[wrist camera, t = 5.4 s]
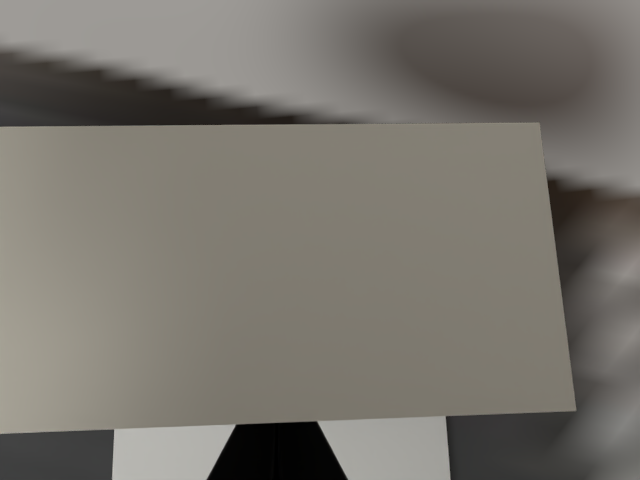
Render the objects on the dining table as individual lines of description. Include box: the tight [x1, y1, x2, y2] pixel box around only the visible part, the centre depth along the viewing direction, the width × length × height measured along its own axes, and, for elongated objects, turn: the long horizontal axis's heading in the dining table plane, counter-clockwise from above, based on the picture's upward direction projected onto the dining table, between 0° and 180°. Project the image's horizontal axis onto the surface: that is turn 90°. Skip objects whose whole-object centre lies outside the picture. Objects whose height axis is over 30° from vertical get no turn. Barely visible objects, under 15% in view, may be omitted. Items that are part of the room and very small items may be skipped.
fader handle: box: [0, 122, 576, 434], centre depth 10 cm, size 3×6×11 cm, turn 92°
